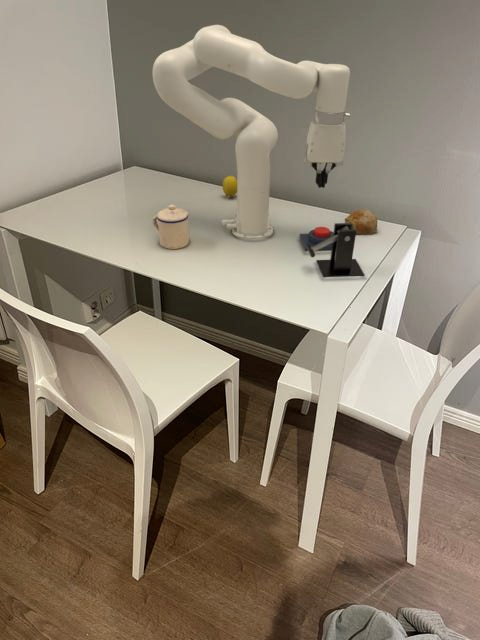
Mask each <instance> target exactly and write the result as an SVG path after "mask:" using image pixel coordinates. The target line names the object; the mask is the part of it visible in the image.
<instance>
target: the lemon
mask: <svg viewBox="0 0 480 640" xmlns="http://www.w3.org/2000/svg"><path fill="white" fill-rule="evenodd" d="M222 191H223V193H224V194H225V195H226V196H228V197H229V198H233V196H234V197H235V195H237V177H235V176H233V175H231V174H230V175H228V176H226V177H225V178H224V179H223V181H222Z"/></svg>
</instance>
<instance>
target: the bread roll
mask: <svg viewBox="0 0 480 640" xmlns="http://www.w3.org/2000/svg"><path fill="white" fill-rule="evenodd" d="M344 223H351V224H352V229H351V230H356V236H363V235H364V236H371V235H374V234H376V233H378V229H377V228H378V218H377V216H376V214H374V212H373V211H370V210H369V209H358V210H355V211H353V212H351V213H349V215H347V216H346V217H345V218H344Z"/></svg>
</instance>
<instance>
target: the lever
mask: <svg viewBox="0 0 480 640" xmlns="http://www.w3.org/2000/svg"><path fill="white" fill-rule="evenodd" d="M339 230H349V228H348V227H347V226H345V227H343V228H341V229H339ZM337 232H338V230H337ZM337 237H338V234H337V235H335V236H333V237H331V238H329V239H327V240H325V241H323V242H321V243H319V244H317V245H315V246H313V247H312V246H311V244H308V245H307V248H308V251H307V252H308V253H309V255H310V257H311V258H315V257H316V253H315V252H318V251H317V250H319V249H321V248H323V247H325V246H327V245H329V244H331V243H333V242H335V241H337Z"/></svg>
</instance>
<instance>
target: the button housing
mask: <svg viewBox="0 0 480 640" xmlns="http://www.w3.org/2000/svg"><path fill="white" fill-rule="evenodd" d="M333 233H334V231H331V230H330V234H329V237H327V238H319V237H316V236H314V229H311V230H309V232H308V233H299V240H300V243H301V245H302V248H303V250H304V252H309V251H308V248H307V245H308V244H311V246H312V247H313V246H315V245H317V244H319V243H321V242H323V241H325V240H327V239H329V238H331V237H333ZM331 249H332V243H331V244H329V245H327V246H325V247H323V248H321V249H319V250H317V251H316V252H327V251H328V252H329V251H330V252H331Z"/></svg>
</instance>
